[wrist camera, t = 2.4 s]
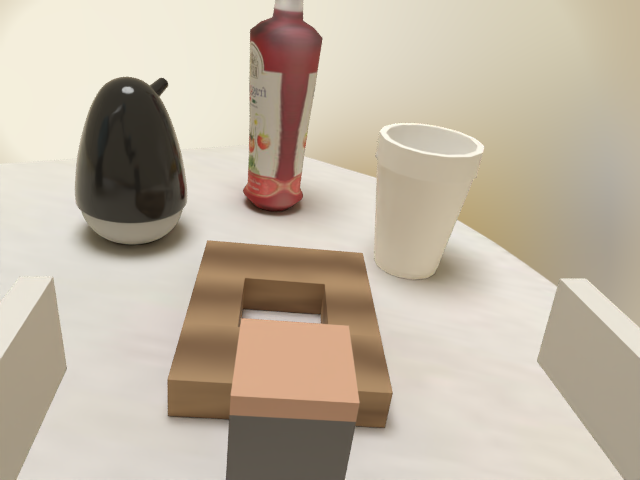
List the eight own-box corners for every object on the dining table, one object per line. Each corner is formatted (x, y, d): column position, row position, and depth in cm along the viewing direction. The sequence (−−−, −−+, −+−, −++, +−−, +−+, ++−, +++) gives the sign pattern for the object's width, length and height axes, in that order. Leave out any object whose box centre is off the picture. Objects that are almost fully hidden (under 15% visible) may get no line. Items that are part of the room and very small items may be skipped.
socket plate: (384, 427, 37) (392, 393, 36) (167, 415, 36) (167, 379, 35) (357, 281, 53) (362, 253, 52) (206, 269, 52) (207, 240, 51)
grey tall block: (323, 586, 28) (359, 403, 22) (220, 583, 27) (230, 395, 22) (319, 497, 32) (348, 325, 27) (230, 493, 32) (241, 318, 26)
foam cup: (341, 249, 58) (359, 126, 52) (408, 234, 63) (432, 120, 57) (401, 297, 52) (430, 162, 46) (471, 276, 57) (506, 151, 51)
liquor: (313, 213, 65) (347, -62, 52) (253, 219, 62) (272, -72, 49) (289, 188, 71) (314, -66, 58) (232, 192, 68) (245, -75, 55)
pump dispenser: (207, 225, 60) (211, 79, 53) (144, 269, 51) (138, 100, 44) (127, 201, 63) (121, 59, 55) (54, 238, 54) (35, 75, 47)
